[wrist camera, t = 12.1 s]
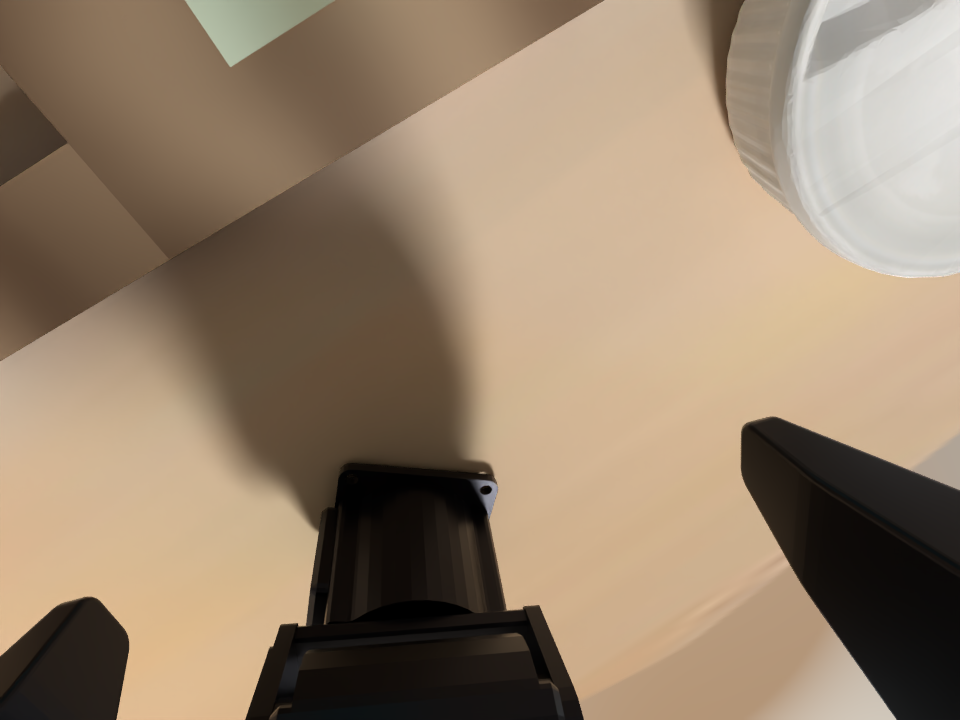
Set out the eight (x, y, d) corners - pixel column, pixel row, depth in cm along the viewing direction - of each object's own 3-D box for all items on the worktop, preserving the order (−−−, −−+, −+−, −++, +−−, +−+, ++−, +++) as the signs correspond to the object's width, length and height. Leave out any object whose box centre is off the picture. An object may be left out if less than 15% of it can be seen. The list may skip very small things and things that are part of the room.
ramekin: (882, -301, 14) (1113, -461, 10) (1108, -27, 18) (1350, -49, 13) (619, 125, 18) (693, 155, 14) (847, 276, 22) (965, 338, 18)
